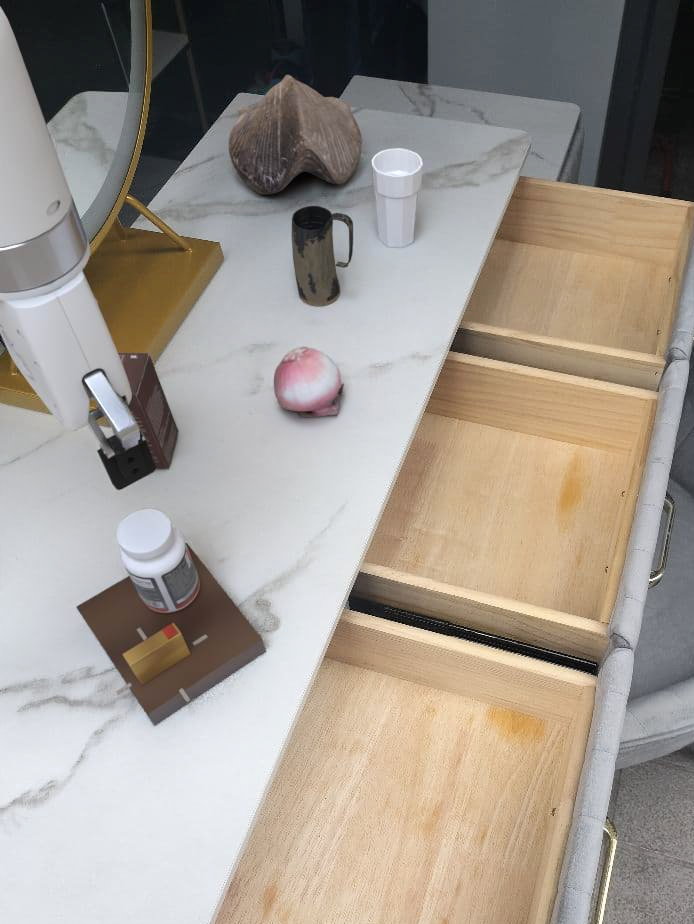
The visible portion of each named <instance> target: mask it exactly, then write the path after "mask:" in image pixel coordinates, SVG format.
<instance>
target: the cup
mask: <svg viewBox="0 0 694 924" xmlns="http://www.w3.org/2000/svg"><path fill="white" fill-rule="evenodd" d="M423 166H424V163H423V159H422V157H421V156H420V155H419V154H418V153H417V152H415V151H412V150H410V149H406V148H401V147H397V148H388V149H384V150H380V151H378V153H376V154H374V156H373V157H372V159H371V173H372V175H371V176H372V185H373V189H374V193H375V206H376V217H377V229H378V240H379V241H380V242H381V243H382V244H384V245H385V246H386V247H387V248H398V249H400V248H401V249H402V248H405V247H407V246H409V245H411V244H414V241H415V235H416V222H417V212H418V211H417V209H418V198H419V197H418V196H419V190H420V188H421V187H422V180H423V170H424V169H423V168H424V167H423Z"/></svg>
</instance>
